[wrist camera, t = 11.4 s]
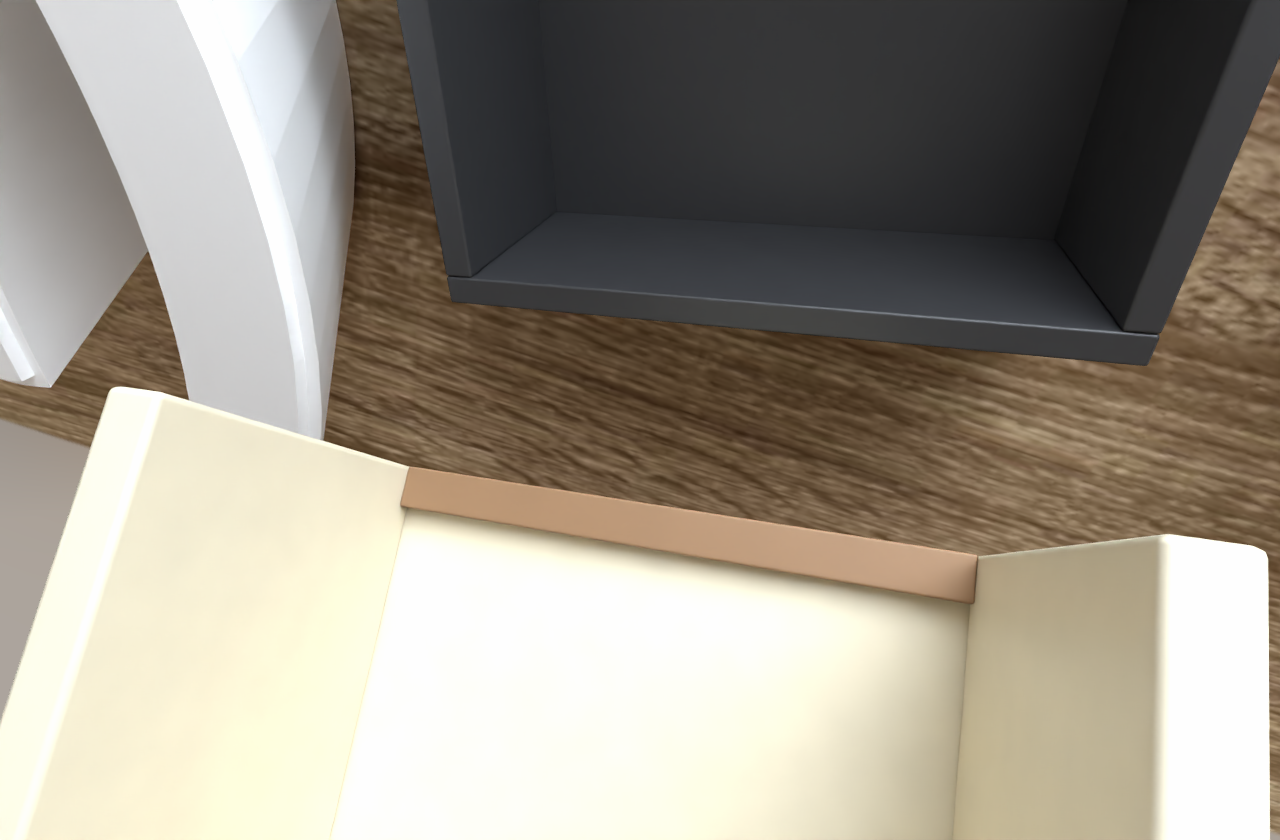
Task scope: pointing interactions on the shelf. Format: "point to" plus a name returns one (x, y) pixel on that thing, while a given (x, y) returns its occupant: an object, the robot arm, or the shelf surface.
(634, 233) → the dark gray tray
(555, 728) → the box
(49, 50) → the wavy white extrusion
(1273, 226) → the shelf surface
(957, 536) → the shelf surface
